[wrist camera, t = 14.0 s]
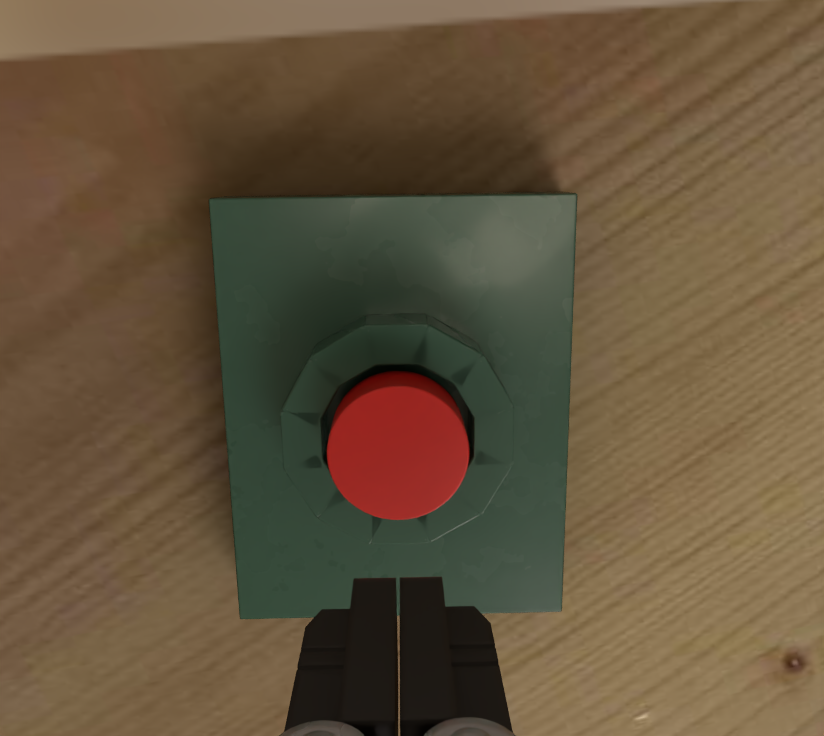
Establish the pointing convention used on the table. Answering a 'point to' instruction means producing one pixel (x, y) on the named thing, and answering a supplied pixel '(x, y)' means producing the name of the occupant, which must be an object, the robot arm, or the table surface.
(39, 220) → the table surface
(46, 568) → the table surface
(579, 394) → the table surface
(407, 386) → the button
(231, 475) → the control box
